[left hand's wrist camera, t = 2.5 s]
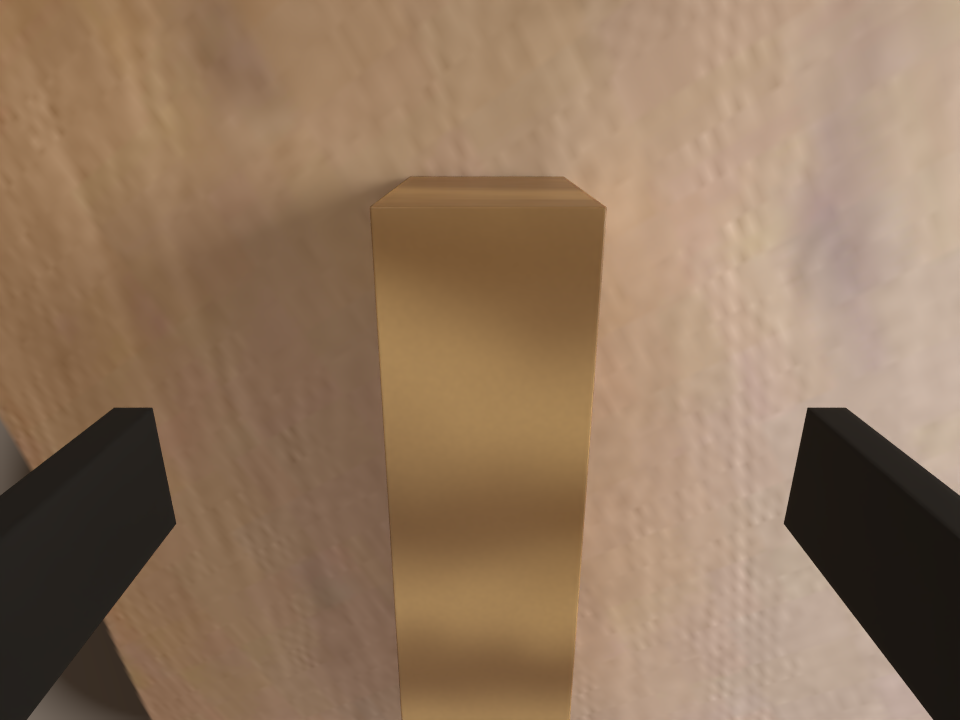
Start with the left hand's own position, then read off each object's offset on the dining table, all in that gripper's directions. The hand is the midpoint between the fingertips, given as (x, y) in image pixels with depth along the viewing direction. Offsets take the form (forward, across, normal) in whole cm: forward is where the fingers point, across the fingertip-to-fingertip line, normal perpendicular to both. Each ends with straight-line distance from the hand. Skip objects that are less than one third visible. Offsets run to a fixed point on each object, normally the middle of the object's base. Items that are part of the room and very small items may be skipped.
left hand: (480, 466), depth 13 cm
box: (+14, 0, -9) cm, 16 cm away
